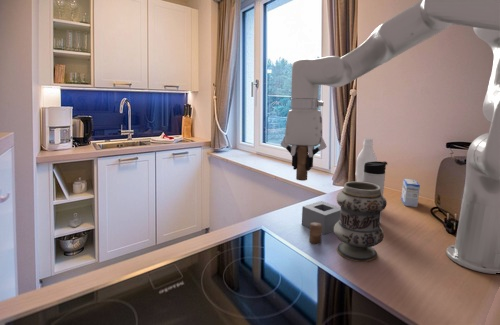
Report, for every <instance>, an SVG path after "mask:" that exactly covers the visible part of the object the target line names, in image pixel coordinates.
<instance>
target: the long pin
mask: <svg viewBox="0 0 500 325" xmlns="http://www.w3.org/2000/svg"><path fill="white" fill-rule="evenodd" d="M307 157H308V146H297V169H296V175H295V176H296V178H295V180H297V181H301V182H302V181H303V182H305V181H308V173H309V171H307V170H306V162H307Z"/></svg>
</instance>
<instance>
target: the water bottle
mask: <svg viewBox="0 0 500 325" xmlns="http://www.w3.org/2000/svg"><path fill="white" fill-rule="evenodd" d="M373 140H374V138H373V137H364V139H363V142H362V146H363V147H362V148H361V150H360V152H359V153H358V155H357V157H356V164H355V174H354V175H355V179H356V182H363V174H364V165H365V163H367V162H376V161H378V159H377V155H376V153H375V151H374V148H373V146H374V141H373Z"/></svg>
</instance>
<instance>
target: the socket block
mask: <svg viewBox="0 0 500 325" xmlns="http://www.w3.org/2000/svg"><path fill="white" fill-rule="evenodd" d="M301 211H302V212H301V225H302V226H305V227H306V228H309V229H310V224H311V223H320V224H321V225H322V233H321V235H326V234H329V233H332V232H334V226H335V224H336V223H337V222H338V221H339V220H340V211H341V206H337V205H334V204H332V203H329V202H326V201H323V200H320V201H317V202H313V203H309V204H306V205H303V206H302V208H301Z"/></svg>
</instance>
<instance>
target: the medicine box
mask: <svg viewBox="0 0 500 325" xmlns="http://www.w3.org/2000/svg"><path fill="white" fill-rule="evenodd" d="M420 187H421V185H420V183H419V182H418V181H417V179H412V178H411V179H410V178H403V181H402V187H401V188H402V189H401V198H400V199H401V202H402V203H403V205H404V206H405V207H413V208H417V207H418V204H419V195H420V190H421V188H420Z"/></svg>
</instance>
